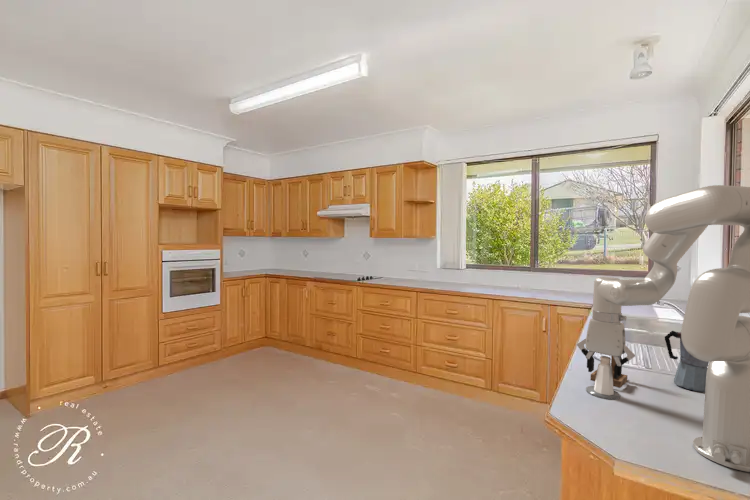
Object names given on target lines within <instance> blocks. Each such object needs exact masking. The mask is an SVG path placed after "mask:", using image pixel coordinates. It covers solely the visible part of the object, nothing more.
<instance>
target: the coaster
mask: <svg viewBox="0 0 750 500" xmlns="http://www.w3.org/2000/svg"><path fill="white" fill-rule="evenodd" d="M594 386H595V385H589V386H586V388H585V391H586V392H587V393H588V395H591V396H594V397H596V398H600V399H605V400H617V399H620V398H621V396H620V394H621V393H619V392H618V391H616V390H614V394H613V395H609V396H608V395H602V394H599V393H597V392H595V390H594Z"/></svg>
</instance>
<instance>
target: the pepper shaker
mask: <svg viewBox="0 0 750 500" xmlns="http://www.w3.org/2000/svg"><path fill="white" fill-rule="evenodd" d="M599 358H600V363H598V365H597V369H596V370H597V375H596V380H595V381H594V385H593V386H594V390H595V392H597V393H599V394H602V395H608V396H609V395H613V394H614V391H615V390H614V386H613V374H612V366H611V357H609V356H608V355H600V357H599Z"/></svg>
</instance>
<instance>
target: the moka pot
mask: <svg viewBox="0 0 750 500" xmlns="http://www.w3.org/2000/svg"><path fill="white" fill-rule="evenodd" d="M671 337H674V338H676V339H679V342H680V343H679V347H680V348H679V353H680V354H679V355H680V356H675V355H674V353H673V351H672V345H671V340H670V338H671ZM664 341H665V345H666V347H667V348H666V349H667V353H668V356H669V358H670V359H672V360H678V359H679V363H678V365H677V368H676V372H675V374H674V378H673V383H674V384H675V385H676V386H678V387H681V388H684V389H687V390H690V391H694V392H695V391H696V392H702V393H705V386H706V374H707V369H708V365H709V362H707V361H702V360H699V359H697V358H695V357H693V356H692V355H690V354H689V353H688V351H687V350H686V349H685V347H684V345H683V343H682V339H681V331H674V330H671V331H670V332H669V333H667V334H666V335H665V336H664ZM679 357H680V358H679Z"/></svg>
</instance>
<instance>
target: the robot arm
mask: <svg viewBox="0 0 750 500" xmlns="http://www.w3.org/2000/svg"><path fill="white" fill-rule="evenodd" d="M644 223H645V225H646V227H647V229H648V230H650V232H651V235H650V236H649V237H648V240H647V241H646V242H645V243H644V245H642V251H643V254H644V255H645V256H646V257H647V258H648V259H649V260H650V261H652V262H653V266H652V268H651V269H650V271H649V272H648V273H647V275H645V277H644V278H643V279H640V278H639V279H620V278H617V277H611V276H599V277H596V278H595V279H594V281H593V282H594V283H593V297H592V299H593V301H592V315H591V316H592V318H590V319H589V322H588V326H587V330H586V331H587V332H586V337H585V339H583V340H581V341H579V342H578V343H577V344H576V346H577V348H579V350H580V351H581V353H582V354H583V355H584V356H585V358H586V369H588V372H589V373H593V372H594V371H595V358H594V355H595V353H597V354H601V355H604V356H611V357H612V356H613V357H614V359H615V362H616V365H615V366H614V378H615V379H617V378H618V377H619V376H621V374H622V369H623V368H622V367H623V365H624V364H627V363H628V362H629V361H631V360H632V359H634V358H635V357H636V354H635V353H634V352H633V351H632V350H631V349H630V348H629V347H628V346H627V345H626V343H627V342H626V329H625V325H624V322H623V321H625V322H626V321H627V316H626V315H623V313H622V307H629V306H631V307H632V306H635V307H636V306H651V305H654V304H656V303H658V302H659V301H661V300H662V298H664V297H665V296H666V294H668V292H669V291H670V290H671V288H673V286H674V284H675V282H676V280H677V275H678V263H679V261H680V260H682V257H684V255H685V254H686V253H687V251H688V250H689V249H690V248H691V247H692V246H693V244H694V243H695V242H696V241H697V240H698V239H699V238H700V236H701V235H702V234H703V232H704V231H706V230H707V228H708V226H717V225H718V226H740V227H742V228H743V232H741V234H740V235H739V236H738V238H737V239H736V241H735V243H734V244H733V247H732V250H731V256H730V259H729V262H728V265H727V267H720V268H719V267H718V268H713V269H708V270H706V271H704V272H702V273H701V274H700V275H699V276H698V277H697V278H695V280H694V281H693V283H692V285H691V287H690V290H689V294H688V299H687V303H686V307H685V312H684V314H683V315H684V316H683V320H682V325H681V331H680V332H681V339H682V343H683V345H684V347H685V349H686V350H687V351H688V353H689V354H690V355H692V356H693V357H695V358H697V359H699V360H702V361H707V362H709V363H708V366H707V368H708V369H707V374H706V386H705V392H704V404H703V405H704V406H703V407H704V408H703V420H702V436H697V437H696V438H693V440H692V441H693V442H692V446H693V448H694V449H695V450H696V452H697V453H699V454H700V455H701V456H703V457H705V458H707V460H710V461H712V462H714V463H717V464H719V465H721V466H724V467H727V468H729V469H733V470H738V471H741V472H747V473H750V317H749V316H744V315H740V314H749V313H750V186H742V185H741V186H739V185H738V186H737V185H726V184H725V185H721V184H719V185H717V184H714V185H707V186H703V187H699V188H695V189H693V190H690V191H687V192H682V193H680V194H676V195H673V196H670V197H666V198H664V199H661V200H659V201H657V202H655V203H653V205H651V206H650V207H649V208H648V210H647V212H646V215H645V217H644ZM624 354H626V356H625V357H623V358H622V356H623V355H624Z"/></svg>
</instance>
